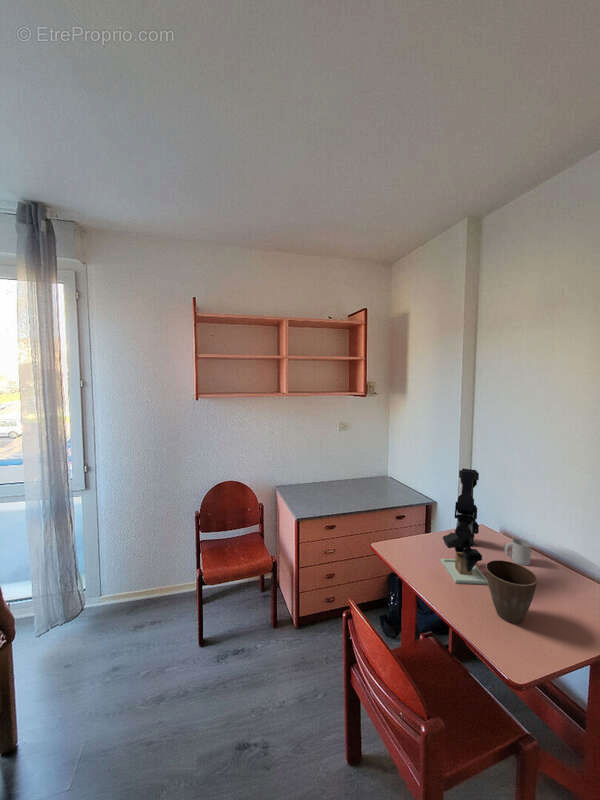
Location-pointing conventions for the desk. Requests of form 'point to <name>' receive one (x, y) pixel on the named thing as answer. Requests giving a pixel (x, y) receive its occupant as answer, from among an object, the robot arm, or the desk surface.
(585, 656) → the desk surface
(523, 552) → the cup
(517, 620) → the plant pot
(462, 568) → the walnut block
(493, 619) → the desk surface
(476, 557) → the robot arm
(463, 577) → the tray
